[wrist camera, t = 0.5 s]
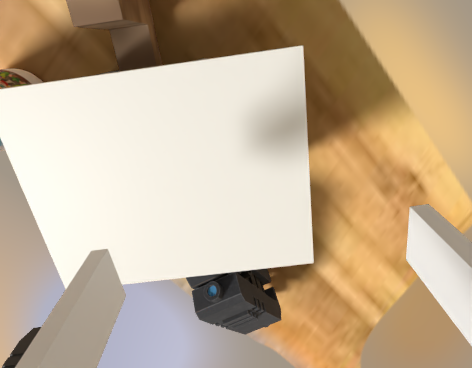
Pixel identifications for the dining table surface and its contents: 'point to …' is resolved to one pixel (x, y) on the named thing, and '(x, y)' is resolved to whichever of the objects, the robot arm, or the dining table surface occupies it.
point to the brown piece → (121, 29)
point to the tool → (236, 300)
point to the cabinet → (168, 165)
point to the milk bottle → (16, 82)
